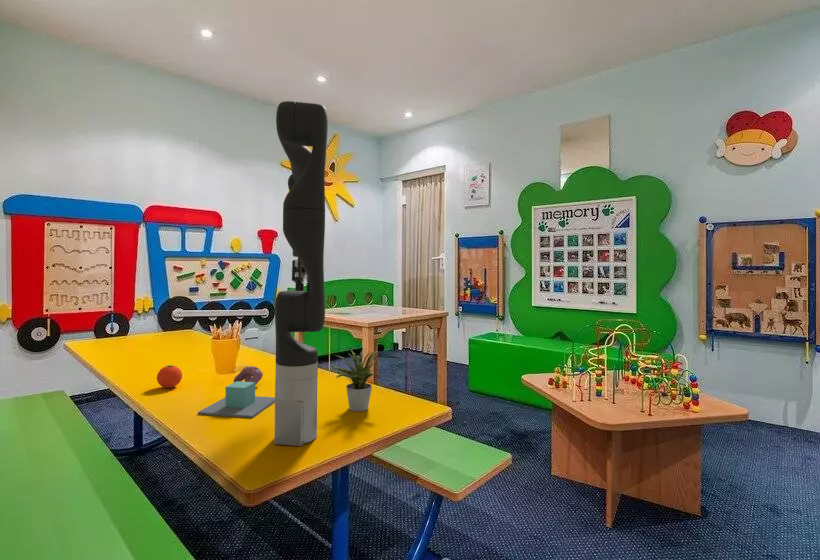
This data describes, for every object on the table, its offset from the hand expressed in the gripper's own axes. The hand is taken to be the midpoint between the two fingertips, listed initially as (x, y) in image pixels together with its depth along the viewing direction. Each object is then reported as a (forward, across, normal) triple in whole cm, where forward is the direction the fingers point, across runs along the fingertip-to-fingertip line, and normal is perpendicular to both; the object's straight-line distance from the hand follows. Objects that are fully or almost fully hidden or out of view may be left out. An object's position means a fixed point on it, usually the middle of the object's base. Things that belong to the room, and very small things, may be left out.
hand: (305, 295), depth 125 cm
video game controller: (+30, +7, +22) cm, 38 cm away
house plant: (+30, -7, -19) cm, 36 cm away
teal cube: (+30, -13, +13) cm, 35 cm away
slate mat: (+30, -13, +13) cm, 35 cm away
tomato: (+30, 0, +44) cm, 53 cm away
